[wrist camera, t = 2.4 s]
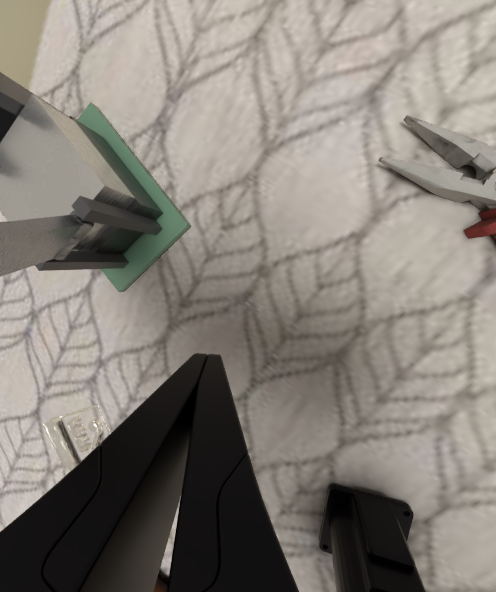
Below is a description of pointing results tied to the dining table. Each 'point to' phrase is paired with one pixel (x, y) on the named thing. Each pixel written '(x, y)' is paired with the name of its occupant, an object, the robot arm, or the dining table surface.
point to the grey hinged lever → (39, 240)
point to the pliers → (450, 184)
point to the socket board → (157, 233)
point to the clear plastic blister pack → (59, 436)
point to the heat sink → (67, 175)
